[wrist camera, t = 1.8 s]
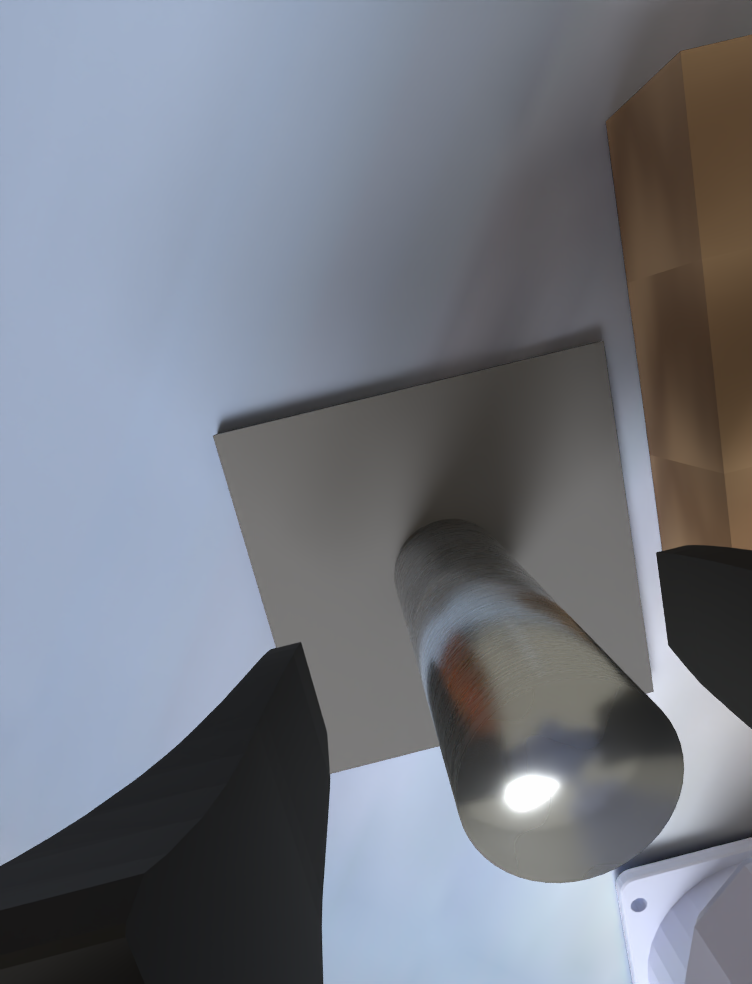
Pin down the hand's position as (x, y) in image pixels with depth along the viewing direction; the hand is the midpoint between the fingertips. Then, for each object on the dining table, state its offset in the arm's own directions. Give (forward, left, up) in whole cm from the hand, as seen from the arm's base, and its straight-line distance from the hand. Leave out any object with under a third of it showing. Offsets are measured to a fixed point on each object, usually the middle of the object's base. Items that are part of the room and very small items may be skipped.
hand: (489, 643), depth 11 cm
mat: (0, 0, -5) cm, 5 cm away
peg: (0, 0, -4) cm, 4 cm away
